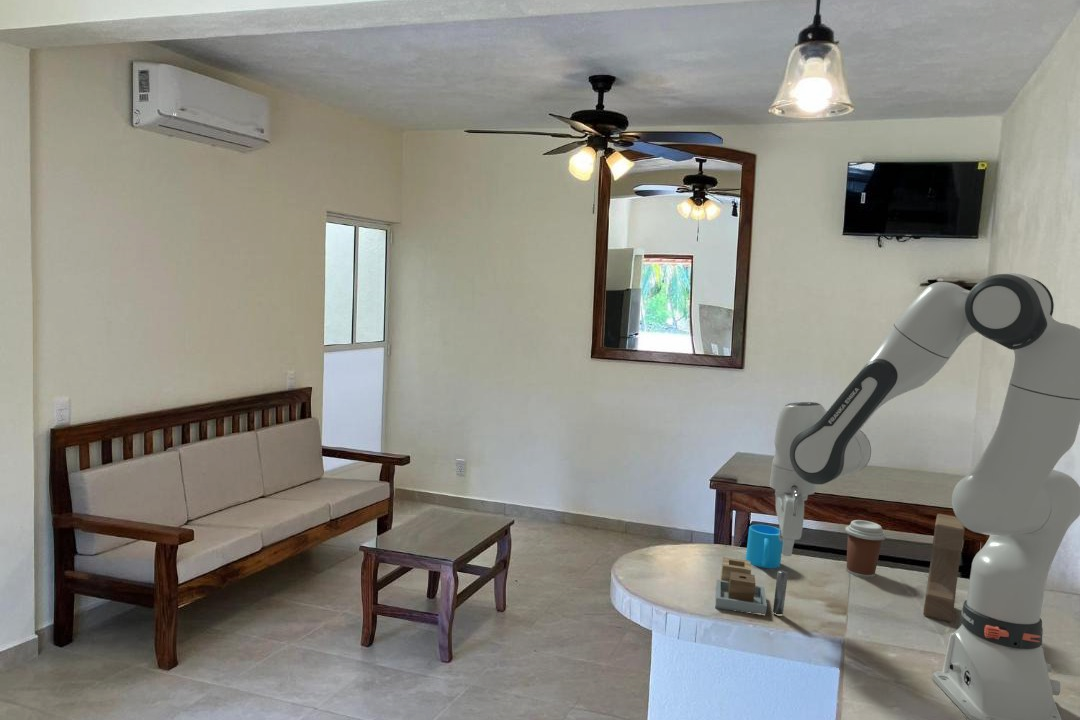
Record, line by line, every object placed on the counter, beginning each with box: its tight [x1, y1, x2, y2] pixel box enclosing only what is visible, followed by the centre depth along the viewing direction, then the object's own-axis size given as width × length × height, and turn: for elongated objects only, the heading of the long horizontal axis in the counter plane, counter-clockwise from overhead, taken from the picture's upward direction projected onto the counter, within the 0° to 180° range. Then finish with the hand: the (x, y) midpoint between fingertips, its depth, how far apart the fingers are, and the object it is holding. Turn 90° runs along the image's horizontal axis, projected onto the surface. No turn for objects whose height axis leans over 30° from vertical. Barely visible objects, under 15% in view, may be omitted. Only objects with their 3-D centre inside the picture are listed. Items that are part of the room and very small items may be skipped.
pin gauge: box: [772, 569, 789, 615], centre depth 167 cm, size 2×2×9 cm
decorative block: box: [922, 513, 966, 623], centre depth 176 cm, size 11×6×20 cm, turn 151°
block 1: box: [720, 556, 752, 581], centre depth 183 cm, size 6×6×5 cm
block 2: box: [728, 572, 756, 602], centre depth 173 cm, size 5×5×5 cm
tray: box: [714, 579, 768, 615], centre depth 173 cm, size 11×10×2 cm
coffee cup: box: [844, 519, 887, 578], centre depth 198 cm, size 9×9×12 cm
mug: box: [745, 524, 783, 569], centre depth 198 cm, size 12×8×8 cm
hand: (784, 547), depth 167 cm, fingers open, 8 cm apart
